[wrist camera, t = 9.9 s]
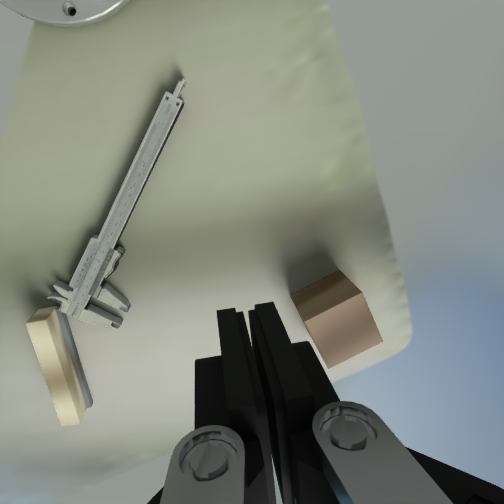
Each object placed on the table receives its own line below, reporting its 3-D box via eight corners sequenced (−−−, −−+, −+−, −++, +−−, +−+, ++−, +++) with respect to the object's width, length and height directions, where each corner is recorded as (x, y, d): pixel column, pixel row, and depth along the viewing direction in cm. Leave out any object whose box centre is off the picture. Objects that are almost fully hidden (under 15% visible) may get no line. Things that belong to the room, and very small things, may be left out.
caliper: (122, 331, 31) (43, 314, 29) (125, 324, 32) (48, 308, 30) (189, 80, 26) (97, 45, 24) (190, 82, 27) (101, 49, 25)
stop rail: (39, 308, 30) (25, 323, 28) (62, 304, 30) (51, 319, 28) (71, 406, 33) (61, 426, 31) (93, 402, 34) (84, 422, 31)
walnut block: (289, 294, 33) (304, 321, 28) (339, 269, 33) (362, 292, 28) (311, 337, 35) (328, 368, 30) (358, 313, 35) (383, 341, 30)
